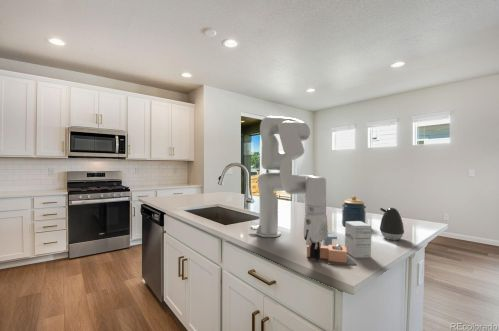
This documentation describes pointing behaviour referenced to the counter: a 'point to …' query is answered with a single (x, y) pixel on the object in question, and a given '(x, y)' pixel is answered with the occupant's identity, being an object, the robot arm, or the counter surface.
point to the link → (331, 253)
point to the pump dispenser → (391, 224)
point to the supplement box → (358, 239)
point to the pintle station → (349, 262)
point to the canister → (353, 210)
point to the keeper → (329, 239)
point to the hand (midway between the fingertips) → (314, 258)
